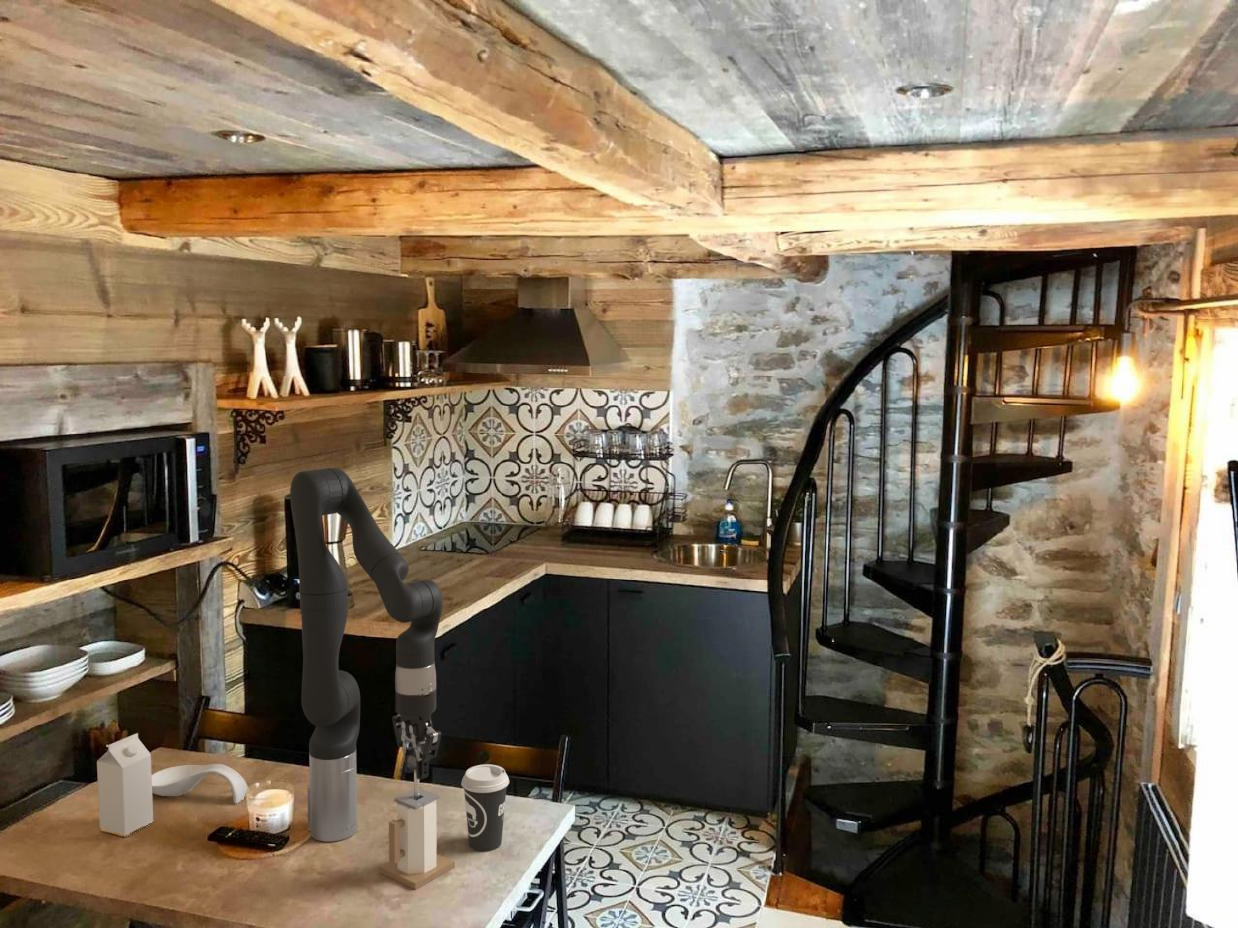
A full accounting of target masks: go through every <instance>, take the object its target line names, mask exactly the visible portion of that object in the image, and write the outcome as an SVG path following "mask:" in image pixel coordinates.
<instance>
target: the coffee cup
mask: <svg viewBox="0 0 1238 928" xmlns="http://www.w3.org/2000/svg"><path fill="white" fill-rule="evenodd" d="M509 784H510V779H509V776H508V774H507V773H506V770H505V769H504V768H503V767H502V766H500V765H498V764H497V765H495V764H491V763H490V764H489V763H488V764H479V765H474V766H471V767H469V768H468V769H467V770H466V771H465V773H464V775H463V777H462V779H461V784H460V785H461V787H462V788H463V792H464V801H465V803H464V805H465V811H466V812H465V813H466V822H467V823H466V824H467V826H466V827H467V835H468V846H469V848H471V849H472V850H474V851H477V852H490V851H494V850H496V849H498V848H500V847H501V845H502V841H503V829H504V820H505V807H506V797H507V796H506V795H507V787H508V786H509Z"/></svg>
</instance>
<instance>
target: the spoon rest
mask: <svg viewBox="0 0 1238 928" xmlns="http://www.w3.org/2000/svg"><path fill="white" fill-rule="evenodd" d="M151 774H152V794H155V795H158V796H161V797H164V796H174V795H179V794H183V793H186V792H188V791H189V792H190V791H191V790H192V789H194V788H195V787H196V786H197V785H198V784H199V783H200V782H201V781H202V780H203V779H204V778H205V777H206V776H208V775H218V776H219V777H222V778H223V779H224V780H226V781H227V783H228V784H229V786H230V788H231V793H232V799H233V804H234V803H235V804H234V805H237V804H239V803H241V802H242V801H243V800H245V799H244V796H245V793H246V791H247V789H248V790H249V787H248V784H247V782H246V781H245V779H244V778H243V777H242V776H241V774H240V773H239V772H237V771H236V770H235V769H234V768H232V767H229V766H228V765H225V764H222V763H211V764H206V765H205V764H202V765H200V764H198V765H196V764H195V765H194V764H187V765H186V764H185V765H177V766H171V767H167V768H164V769H160V770H159V771H156V772H155V773H151ZM189 792H188V793H189ZM186 794H187V793H186ZM241 800H242V801H241ZM238 802H239V803H238ZM236 803H237V804H236Z"/></svg>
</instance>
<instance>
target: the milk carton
mask: <svg viewBox="0 0 1238 928" xmlns="http://www.w3.org/2000/svg"><path fill="white" fill-rule="evenodd" d="M107 747H108V750H107V751H106V752H105V753H104V754H103V755H102V756H101V757H100V758H99V759H98V760H97V761H96V771H97V773H96V774H97V791H98V793H97V794H98V818H99V819H98V820H99V829H100V828H101V829H105V830H108V831H112V832H116V833H120V834H123V835H126V834H129V833H130V832H132V831H134V830H136V829H138V828H140V827H142V826H146V825H148V824H149V823H152V822H153V823H154V809H153V808H154V805H153V804H154V803H153V801H154V800H153V793H152V774H153V773H152V754H151V753H150V751H149V750H148V749H147V748H146V746H145V745H144V744H143V742H142V741H141V740H140V738H139V733H138V732H137V733H133V734H132V735H129V736H127V737H124V738H121V739H120V740H117V741H114V742H113V743H110V744H108V745H107ZM153 823H152V824H153ZM148 826H149V825H148ZM146 827H147V826H146Z"/></svg>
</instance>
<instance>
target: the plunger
mask: <svg viewBox="0 0 1238 928" xmlns="http://www.w3.org/2000/svg"><path fill="white" fill-rule="evenodd" d="M421 753H423V750H421ZM416 760H417V758H416V750H415V751H413V752H410V753H408V754H407V767H408V768H410V769H414V772H413V790H414V799H415V800H418V799H420V793H419V788H420V780H419V779H417V777H416Z"/></svg>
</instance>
